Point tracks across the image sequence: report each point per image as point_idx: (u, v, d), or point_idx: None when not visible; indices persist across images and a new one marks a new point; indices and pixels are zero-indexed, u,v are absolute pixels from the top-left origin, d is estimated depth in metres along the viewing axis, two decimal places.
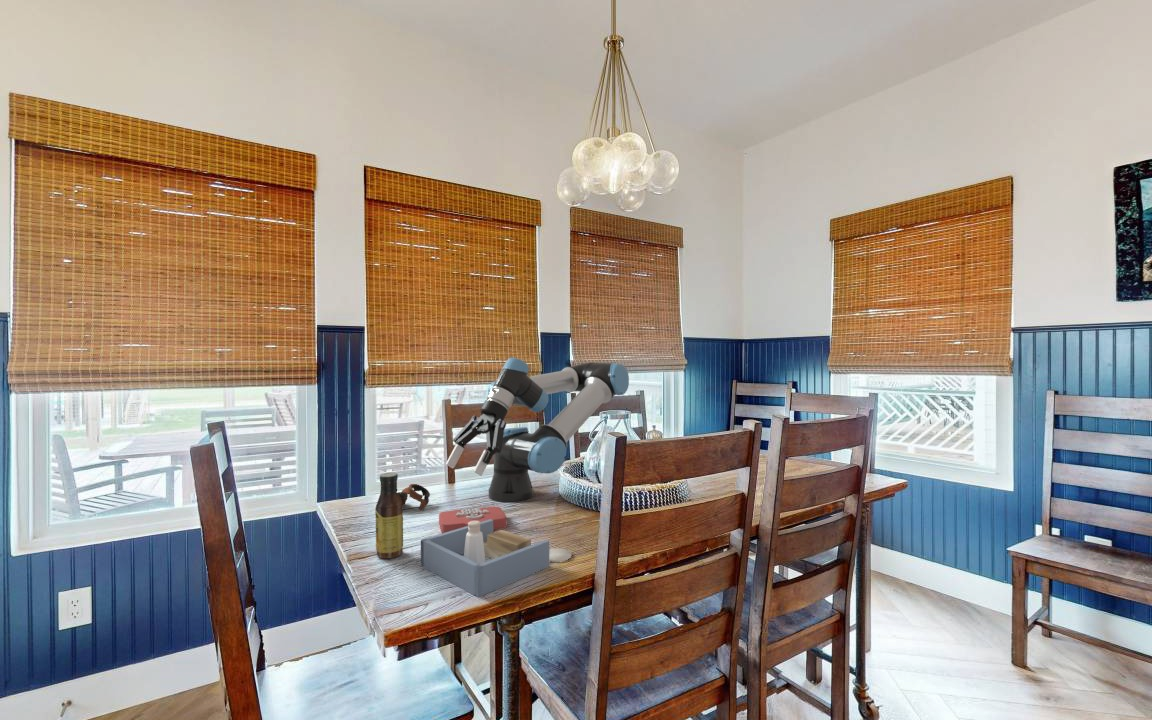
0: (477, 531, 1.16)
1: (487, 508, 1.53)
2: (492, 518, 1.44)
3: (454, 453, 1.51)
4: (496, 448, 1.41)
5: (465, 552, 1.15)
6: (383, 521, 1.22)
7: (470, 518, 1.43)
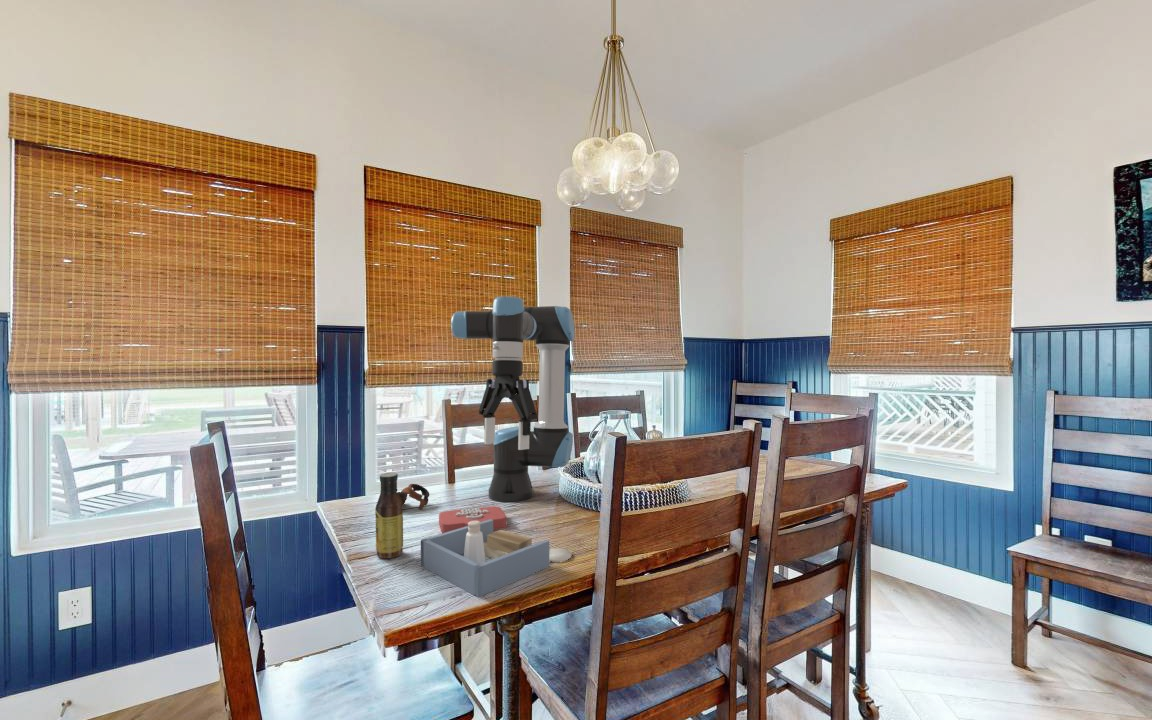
0: (477, 531, 1.16)
1: (487, 508, 1.53)
2: (492, 518, 1.44)
3: (487, 428, 1.31)
4: (531, 417, 1.19)
5: (465, 552, 1.15)
6: (383, 521, 1.22)
7: (470, 518, 1.43)
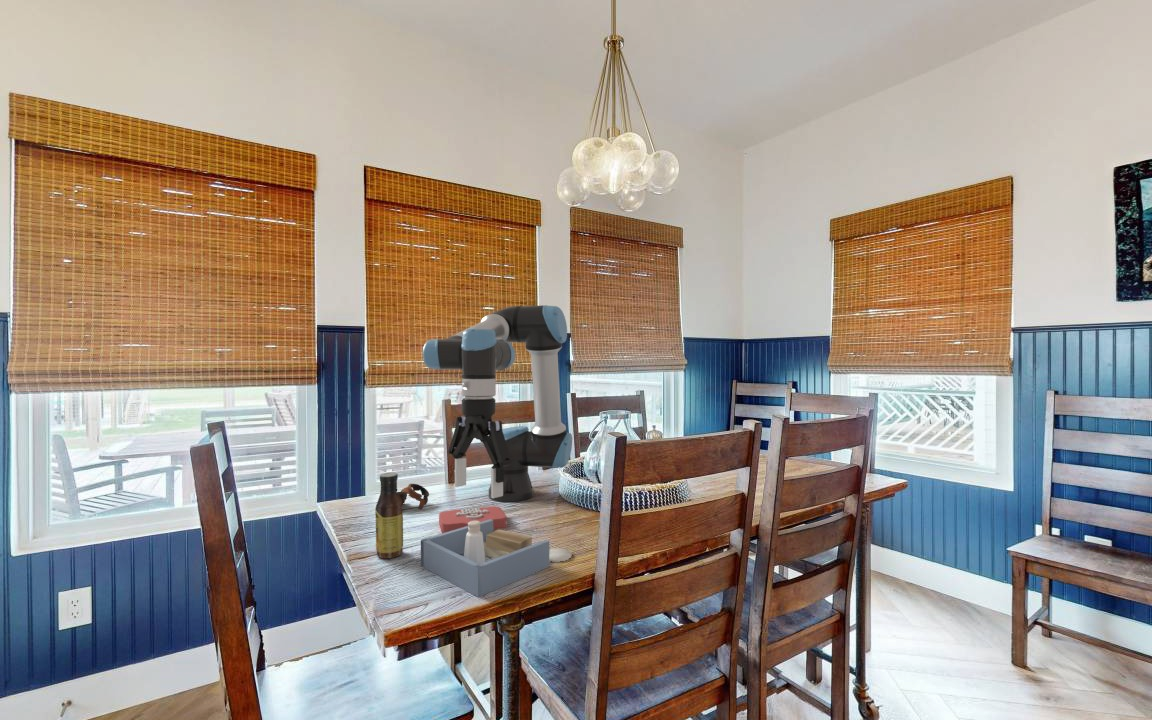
0: (477, 531, 1.16)
1: (487, 508, 1.53)
2: (492, 518, 1.44)
3: (458, 470, 1.20)
4: (504, 463, 1.09)
5: (465, 552, 1.15)
6: (383, 521, 1.22)
7: (470, 518, 1.43)
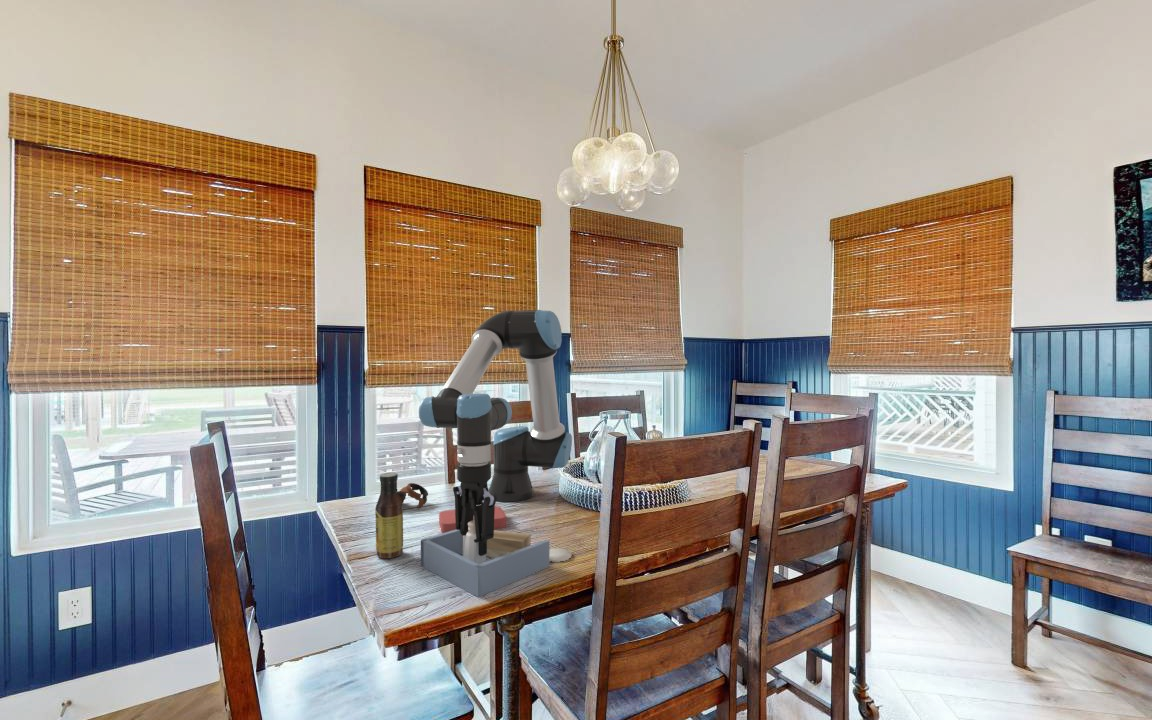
0: None
1: None
2: None
3: None
4: (486, 539, 1.12)
5: (465, 552, 1.15)
6: (384, 521, 1.22)
7: None
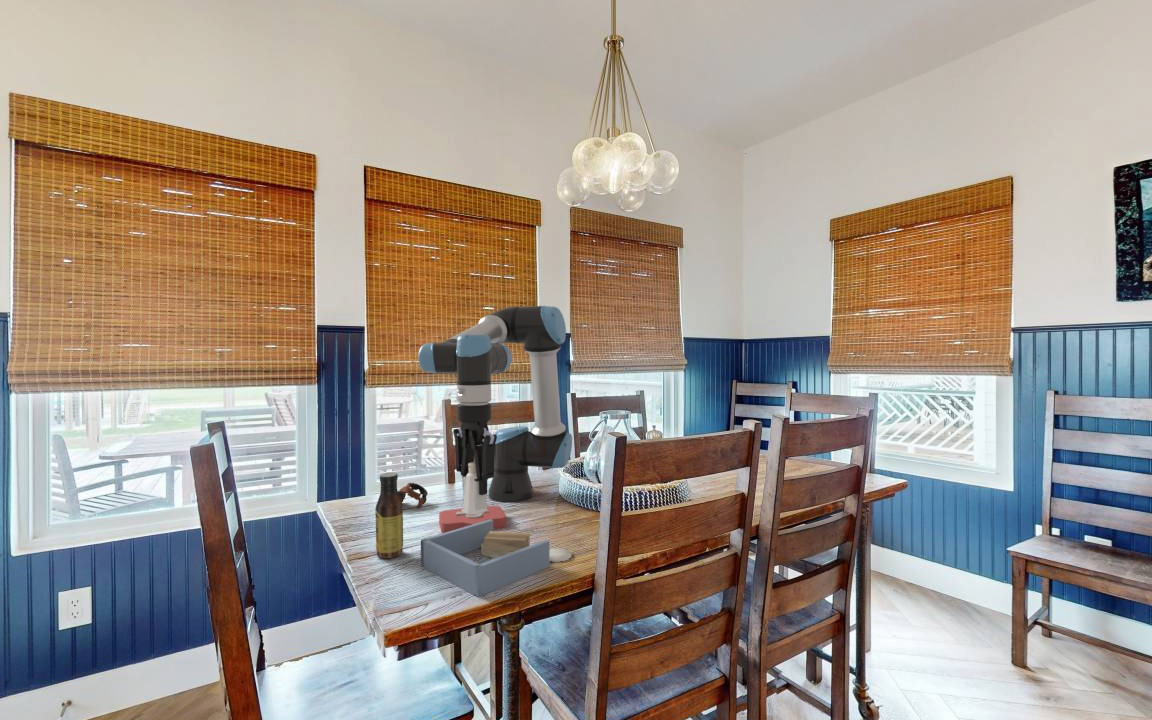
0: None
1: (487, 507, 1.54)
2: (492, 517, 1.45)
3: None
4: (487, 478, 1.12)
5: (465, 492, 1.15)
6: (383, 521, 1.22)
7: (470, 517, 1.44)
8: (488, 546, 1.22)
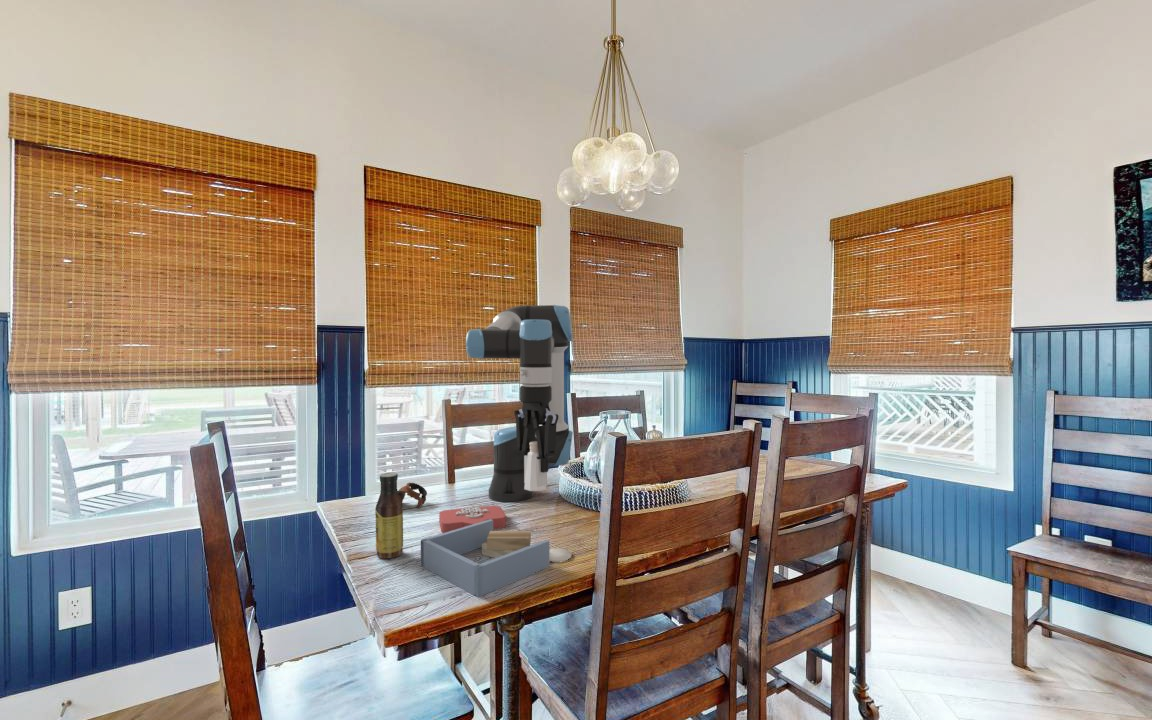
0: None
1: (487, 507, 1.54)
2: (492, 517, 1.45)
3: None
4: (549, 455, 1.18)
5: (527, 470, 1.21)
6: (383, 521, 1.22)
7: (470, 517, 1.44)
8: (491, 546, 1.22)
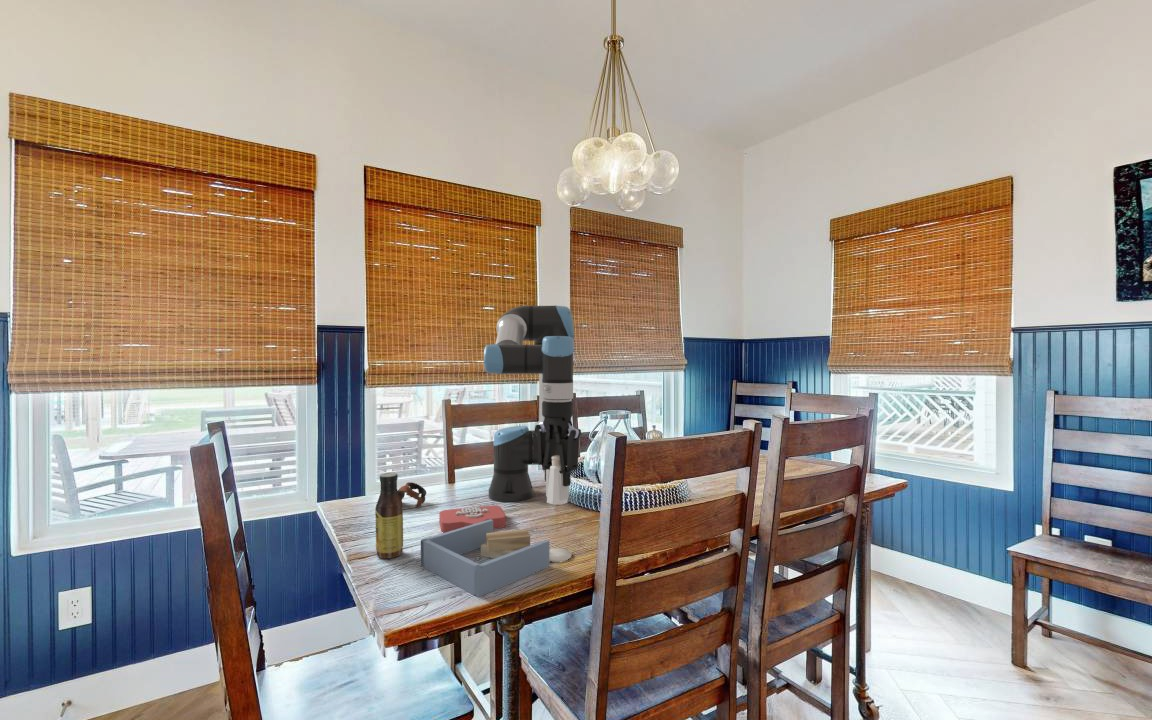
0: (560, 464, 1.23)
1: (487, 507, 1.54)
2: (491, 517, 1.45)
3: None
4: (571, 470, 1.20)
5: (549, 484, 1.23)
6: (383, 521, 1.22)
7: (469, 517, 1.44)
8: (492, 547, 1.21)
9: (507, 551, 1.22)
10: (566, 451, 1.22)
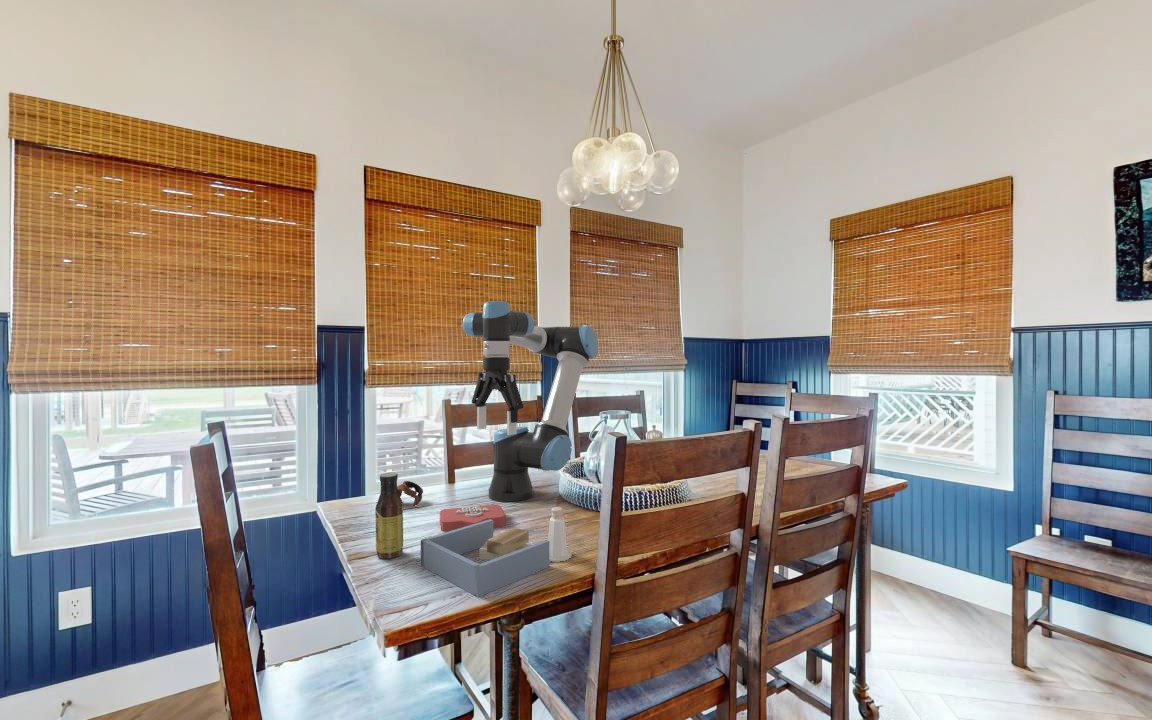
0: (560, 517, 1.24)
1: (487, 506, 1.55)
2: (491, 516, 1.46)
3: (480, 416, 1.50)
4: (518, 407, 1.38)
5: (549, 536, 1.24)
6: (383, 521, 1.22)
7: (469, 516, 1.45)
8: (506, 550, 1.20)
9: (510, 552, 1.22)
10: (509, 394, 1.42)
